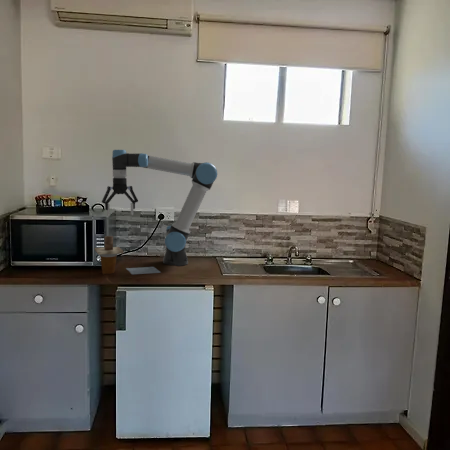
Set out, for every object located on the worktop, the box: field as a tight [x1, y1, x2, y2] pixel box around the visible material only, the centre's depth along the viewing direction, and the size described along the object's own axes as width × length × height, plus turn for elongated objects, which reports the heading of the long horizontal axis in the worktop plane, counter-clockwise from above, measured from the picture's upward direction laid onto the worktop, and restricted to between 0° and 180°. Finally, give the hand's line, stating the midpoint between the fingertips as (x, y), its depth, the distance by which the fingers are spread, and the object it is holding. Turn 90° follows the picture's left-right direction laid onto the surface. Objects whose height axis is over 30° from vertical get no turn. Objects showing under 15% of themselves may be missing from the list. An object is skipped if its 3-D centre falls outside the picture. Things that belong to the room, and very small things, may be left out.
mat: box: [125, 266, 162, 275], centre depth 262 cm, size 16×15×1 cm
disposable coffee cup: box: [99, 254, 118, 275], centre depth 254 cm, size 10×10×12 cm
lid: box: [94, 235, 124, 256], centre depth 253 cm, size 13×13×8 cm
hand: (120, 215), depth 266 cm, fingers open, 13 cm apart
